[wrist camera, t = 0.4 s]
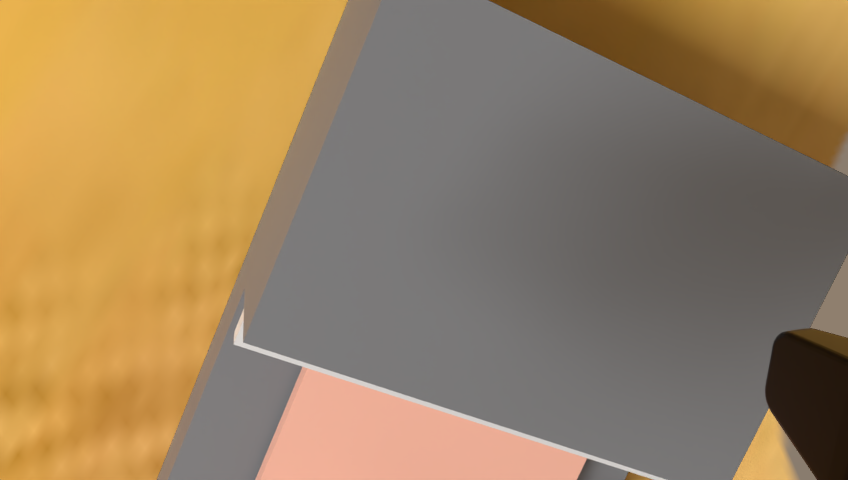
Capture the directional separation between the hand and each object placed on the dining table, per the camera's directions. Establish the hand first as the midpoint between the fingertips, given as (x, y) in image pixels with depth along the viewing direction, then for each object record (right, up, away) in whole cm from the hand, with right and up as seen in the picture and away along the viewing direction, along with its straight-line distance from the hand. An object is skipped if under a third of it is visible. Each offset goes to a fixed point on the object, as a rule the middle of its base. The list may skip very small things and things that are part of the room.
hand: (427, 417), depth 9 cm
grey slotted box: (0, -1, +15) cm, 15 cm away
